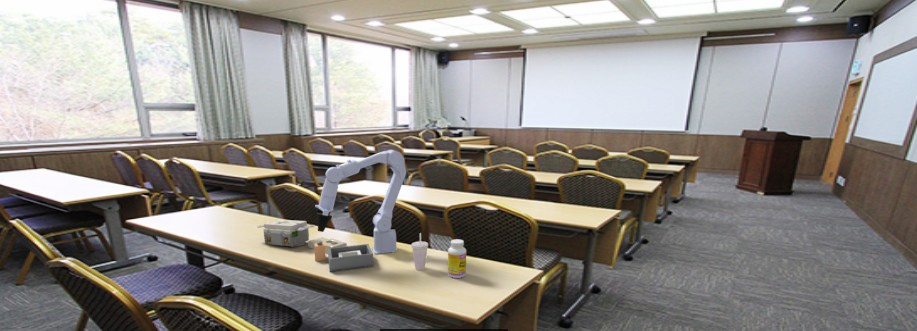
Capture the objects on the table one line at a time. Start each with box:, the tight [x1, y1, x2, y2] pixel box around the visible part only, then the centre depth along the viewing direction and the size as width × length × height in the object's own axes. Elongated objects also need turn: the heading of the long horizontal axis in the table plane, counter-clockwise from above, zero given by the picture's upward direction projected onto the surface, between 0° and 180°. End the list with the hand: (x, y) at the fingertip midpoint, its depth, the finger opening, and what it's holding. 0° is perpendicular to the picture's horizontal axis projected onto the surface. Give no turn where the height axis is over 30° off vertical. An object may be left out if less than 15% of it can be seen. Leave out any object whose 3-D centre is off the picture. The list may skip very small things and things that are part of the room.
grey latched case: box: [256, 219, 316, 248], centre depth 173 cm, size 12×28×10 cm, turn 65°
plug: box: [314, 241, 327, 262], centre depth 154 cm, size 4×4×7 cm
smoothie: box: [411, 232, 429, 271], centre depth 144 cm, size 6×6×14 cm
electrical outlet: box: [307, 236, 348, 255], centre depth 166 cm, size 7×4×18 cm
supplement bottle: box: [447, 238, 467, 279], centre depth 138 cm, size 7×7×13 cm
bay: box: [327, 243, 374, 273], centre depth 149 cm, size 16×13×5 cm
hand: (320, 228), depth 153 cm, fingers open, 7 cm apart
